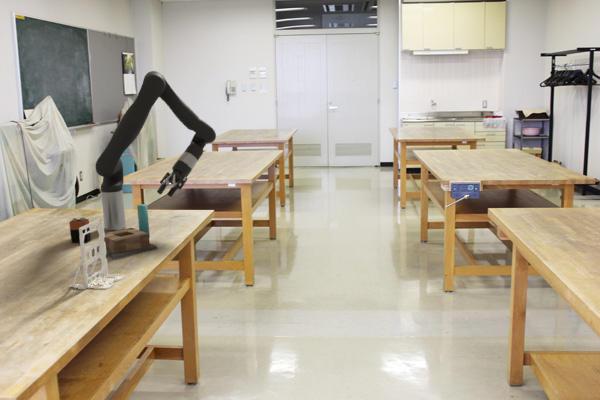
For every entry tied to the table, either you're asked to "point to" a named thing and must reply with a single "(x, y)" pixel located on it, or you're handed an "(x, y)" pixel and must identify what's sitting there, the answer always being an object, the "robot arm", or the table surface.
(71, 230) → the battery
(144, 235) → the socket block
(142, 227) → the peg
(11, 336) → the table surface
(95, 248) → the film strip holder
